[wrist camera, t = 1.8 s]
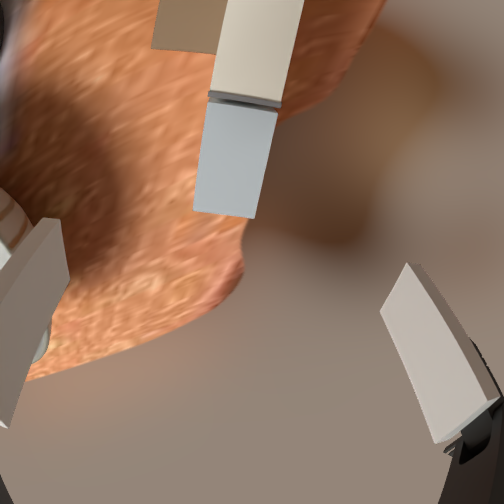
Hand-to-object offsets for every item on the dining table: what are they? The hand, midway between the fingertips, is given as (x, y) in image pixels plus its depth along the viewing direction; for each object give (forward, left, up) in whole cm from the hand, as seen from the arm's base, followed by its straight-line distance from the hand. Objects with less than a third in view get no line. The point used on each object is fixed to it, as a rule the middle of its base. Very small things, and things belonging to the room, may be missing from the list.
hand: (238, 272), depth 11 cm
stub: (0, +1, -21) cm, 21 cm away
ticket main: (-3, +9, -21) cm, 23 cm away
